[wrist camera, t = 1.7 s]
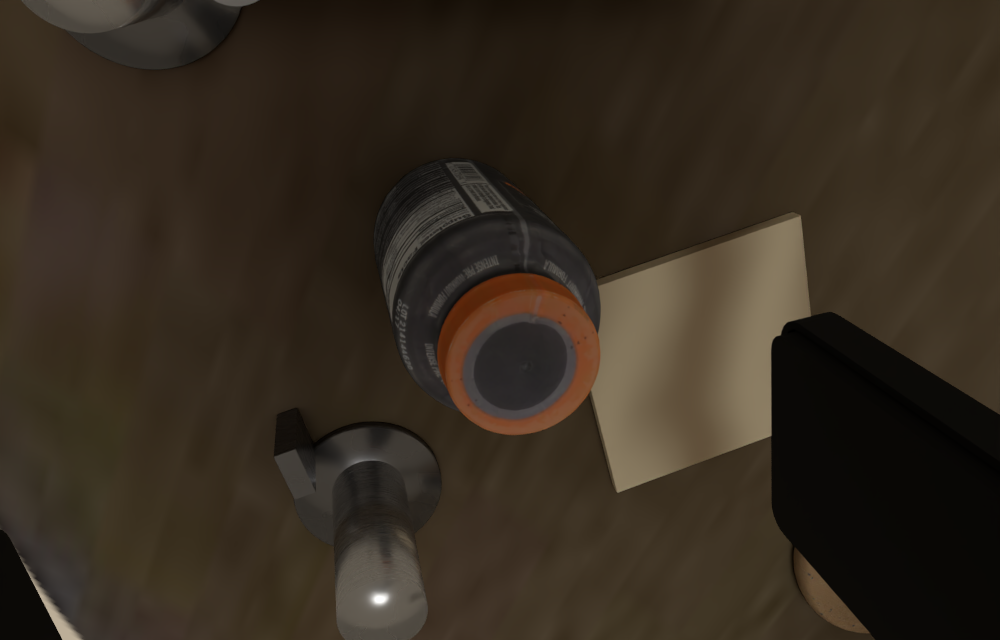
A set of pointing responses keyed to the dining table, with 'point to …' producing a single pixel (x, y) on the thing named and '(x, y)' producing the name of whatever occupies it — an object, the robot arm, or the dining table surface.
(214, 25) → the gate posts
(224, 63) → the dining table surface
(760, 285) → the coaster
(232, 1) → the gate
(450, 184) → the pill bottle
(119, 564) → the dining table surface
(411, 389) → the dining table surface
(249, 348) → the dining table surface
